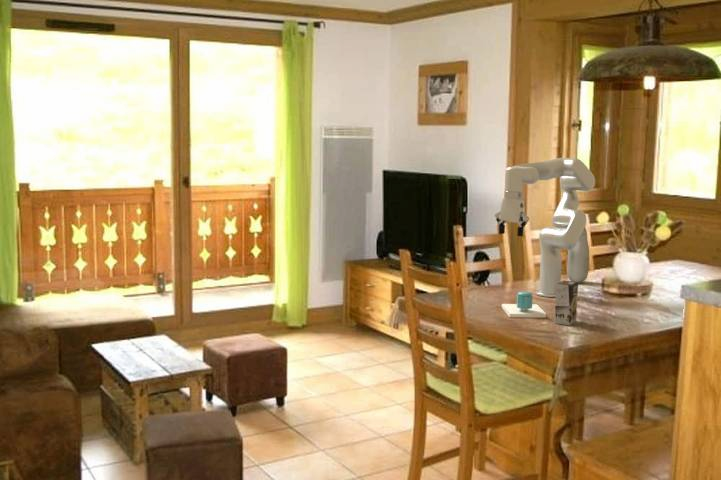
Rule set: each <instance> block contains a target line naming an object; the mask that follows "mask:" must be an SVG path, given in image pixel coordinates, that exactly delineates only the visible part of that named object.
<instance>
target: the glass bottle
mask: <svg viewBox="0 0 721 480" xmlns="http://www.w3.org/2000/svg"><path fill="white" fill-rule="evenodd" d="M566 262H567V264H566V266H567V267H566V273H567V278H568V279H569V281H574V282H578V284H582V283H583V282H585V281H586V279H587V278H588V275H589V266H590V265H589V263H590V247H589V242H588V231H587V230H586V228H584V230H583V232H582V234H581V236H580V238H579V240H578V242H577V244H576V245H575V247H574V248H573V249H571V250H567V261H566Z"/></svg>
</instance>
